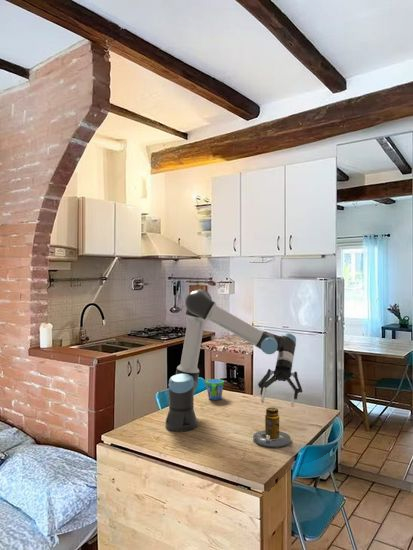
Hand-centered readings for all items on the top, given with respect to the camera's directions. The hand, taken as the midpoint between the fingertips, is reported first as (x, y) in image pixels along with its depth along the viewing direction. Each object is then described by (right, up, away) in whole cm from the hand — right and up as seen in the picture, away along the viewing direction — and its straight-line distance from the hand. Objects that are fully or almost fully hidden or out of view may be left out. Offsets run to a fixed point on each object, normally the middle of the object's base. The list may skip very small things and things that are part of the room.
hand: (277, 403), depth 189 cm
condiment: (-4, -13, -5) cm, 15 cm away
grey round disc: (-3, -14, -6) cm, 16 cm away
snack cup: (-27, -14, +55) cm, 63 cm away
